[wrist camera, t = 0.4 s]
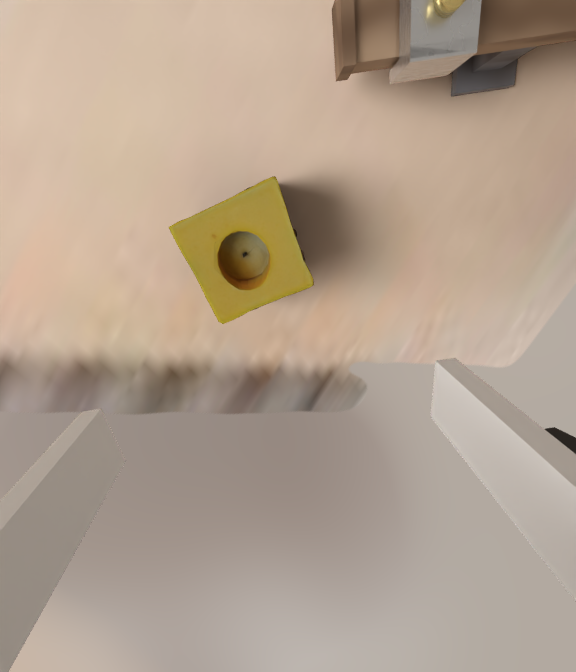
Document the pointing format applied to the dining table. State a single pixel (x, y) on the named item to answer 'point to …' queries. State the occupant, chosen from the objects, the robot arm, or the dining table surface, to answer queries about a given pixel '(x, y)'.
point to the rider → (435, 37)
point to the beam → (493, 40)
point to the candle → (244, 251)
